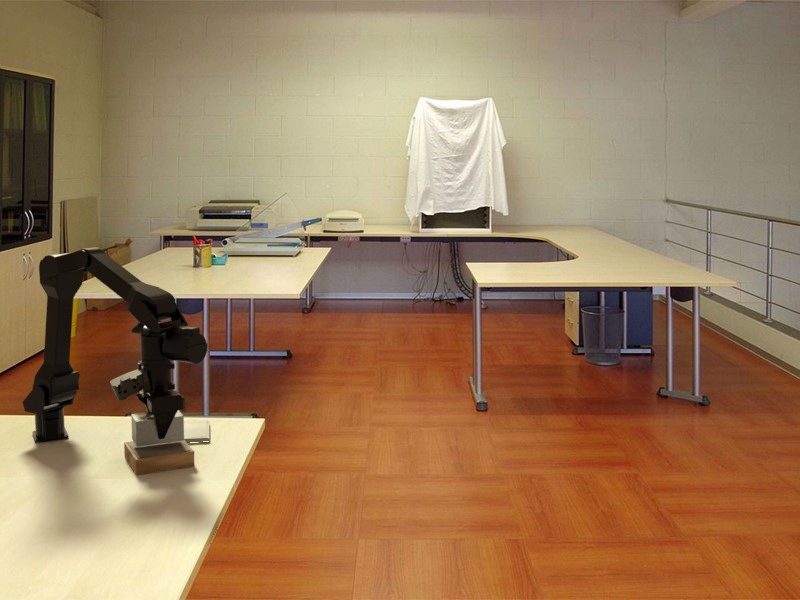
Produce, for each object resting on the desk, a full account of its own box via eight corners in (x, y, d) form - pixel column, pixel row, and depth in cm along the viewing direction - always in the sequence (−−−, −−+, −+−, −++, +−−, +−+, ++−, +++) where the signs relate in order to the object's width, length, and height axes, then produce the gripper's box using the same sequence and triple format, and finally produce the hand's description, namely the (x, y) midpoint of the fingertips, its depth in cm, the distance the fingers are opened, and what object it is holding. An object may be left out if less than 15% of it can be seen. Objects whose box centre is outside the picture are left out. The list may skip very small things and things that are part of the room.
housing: (178, 432, 162) (177, 408, 161) (184, 440, 157) (183, 415, 157) (132, 438, 158) (131, 413, 157) (136, 446, 153) (135, 420, 152)
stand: (124, 456, 160) (124, 441, 160) (179, 448, 166) (179, 434, 165) (136, 475, 151) (135, 459, 150) (194, 465, 156) (194, 450, 156)
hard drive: (209, 437, 170) (209, 419, 182) (169, 439, 168) (171, 421, 180) (209, 445, 170) (209, 426, 182) (169, 447, 168) (171, 428, 180)
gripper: (103, 350, 159) (106, 426, 161) (122, 372, 143) (125, 455, 145) (160, 346, 164) (162, 419, 167) (185, 366, 149) (186, 446, 151)
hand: (158, 434), depth 157 cm, fingers closed on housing, 5 cm apart
